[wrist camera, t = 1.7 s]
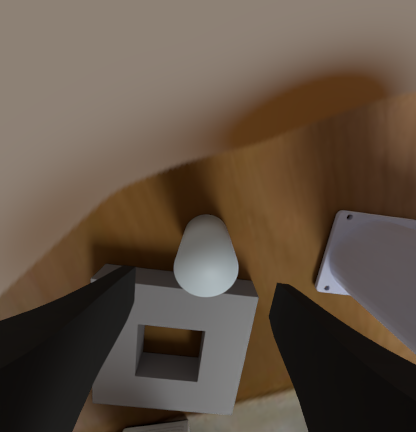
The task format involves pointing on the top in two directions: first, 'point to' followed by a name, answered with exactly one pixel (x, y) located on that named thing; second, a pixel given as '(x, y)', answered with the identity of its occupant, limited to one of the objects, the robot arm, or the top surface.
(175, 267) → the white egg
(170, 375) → the dock
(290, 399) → the top surface
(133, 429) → the skincare box
